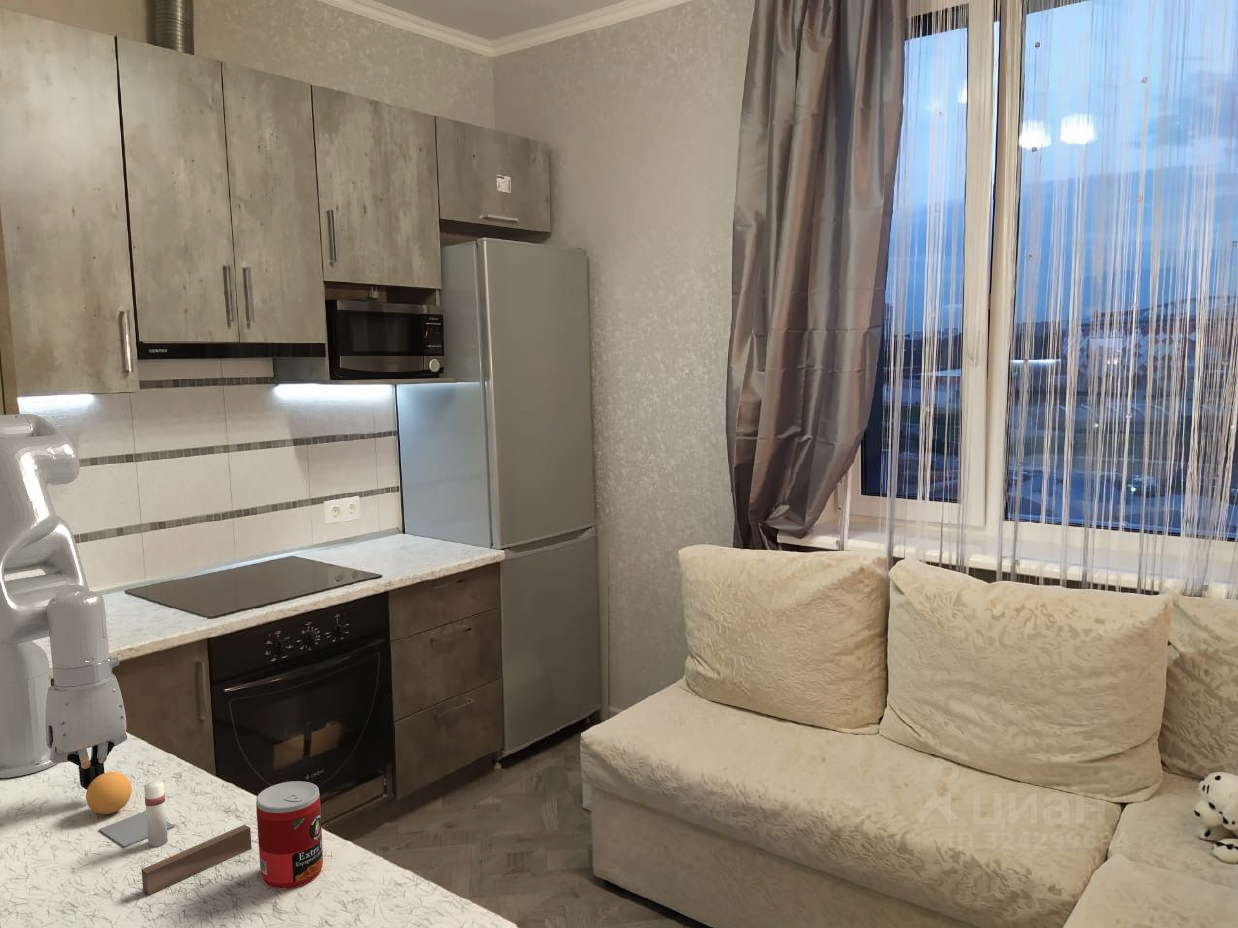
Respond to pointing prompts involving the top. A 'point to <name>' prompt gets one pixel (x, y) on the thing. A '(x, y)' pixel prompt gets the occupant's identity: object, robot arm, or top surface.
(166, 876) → the back wall
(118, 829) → the grey flat plate
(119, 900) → the top surface
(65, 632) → the robot arm
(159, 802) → the pin
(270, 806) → the canned food
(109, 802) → the ball
